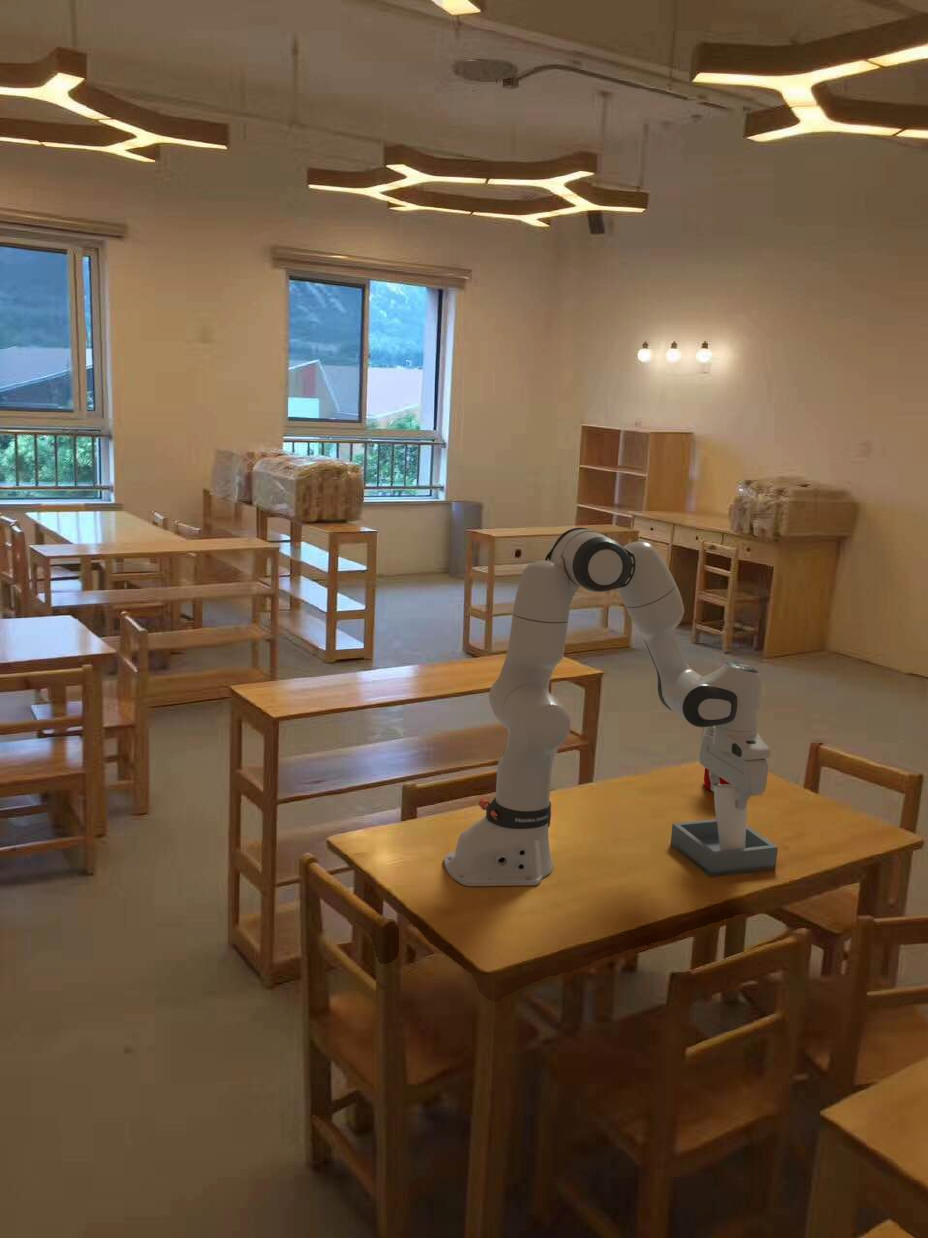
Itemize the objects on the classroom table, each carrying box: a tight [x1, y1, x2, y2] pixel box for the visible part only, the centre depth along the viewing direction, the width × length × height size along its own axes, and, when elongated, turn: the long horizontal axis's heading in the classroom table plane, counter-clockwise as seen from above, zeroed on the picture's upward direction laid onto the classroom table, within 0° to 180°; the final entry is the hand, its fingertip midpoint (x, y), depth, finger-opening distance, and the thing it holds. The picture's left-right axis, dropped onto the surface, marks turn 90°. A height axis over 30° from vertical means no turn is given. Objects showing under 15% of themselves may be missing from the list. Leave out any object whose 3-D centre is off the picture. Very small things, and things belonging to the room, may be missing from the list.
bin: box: [670, 818, 779, 878], centre depth 217 cm, size 16×16×5 cm
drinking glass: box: [713, 785, 748, 851], centre depth 214 cm, size 7×7×15 cm
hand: (727, 799), depth 215 cm, fingers open, 8 cm apart
